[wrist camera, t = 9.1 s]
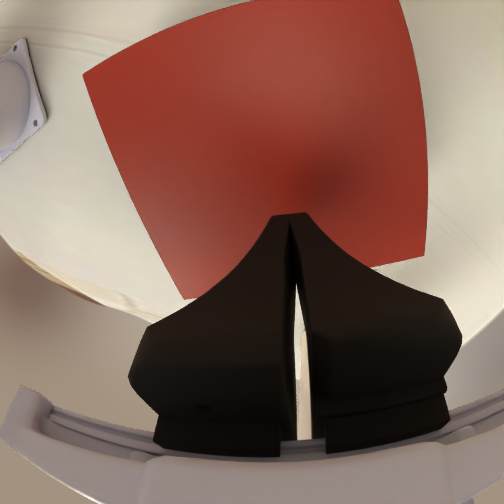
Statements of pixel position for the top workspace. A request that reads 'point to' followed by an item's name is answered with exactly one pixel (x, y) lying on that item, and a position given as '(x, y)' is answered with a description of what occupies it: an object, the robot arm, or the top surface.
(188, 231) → the lid
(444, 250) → the top surface
